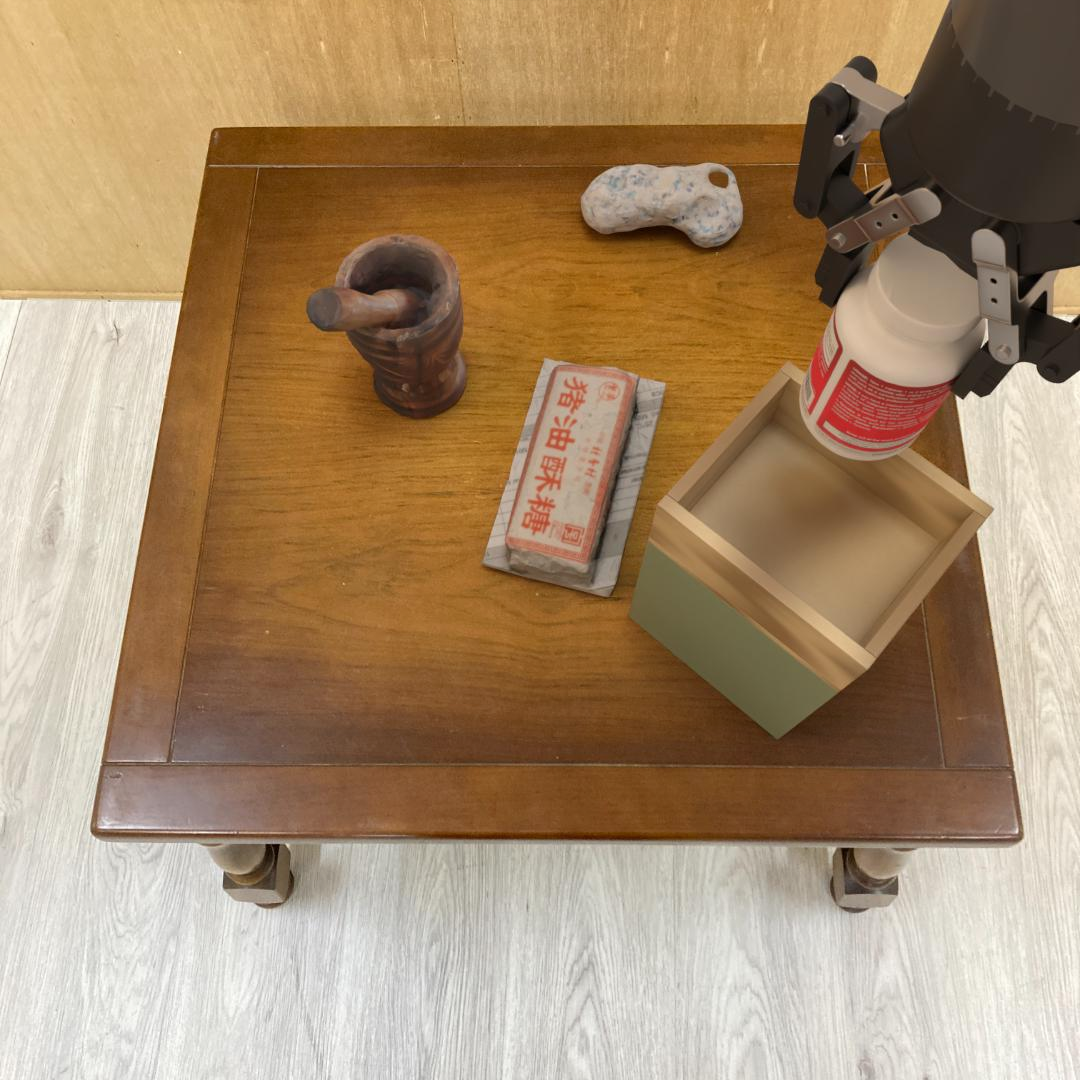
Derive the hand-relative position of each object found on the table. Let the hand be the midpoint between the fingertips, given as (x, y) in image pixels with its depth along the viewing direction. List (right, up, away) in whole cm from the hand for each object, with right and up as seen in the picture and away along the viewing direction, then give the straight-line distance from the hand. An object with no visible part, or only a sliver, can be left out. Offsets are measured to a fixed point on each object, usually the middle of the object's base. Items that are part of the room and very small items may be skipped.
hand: (901, 335), depth 44 cm
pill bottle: (0, -2, +6) cm, 7 cm away
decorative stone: (-6, +18, +42) cm, 46 cm away
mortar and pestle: (-26, +2, +37) cm, 45 cm away
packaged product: (-13, -4, +34) cm, 37 cm away
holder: (0, -9, +15) cm, 18 cm away
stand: (0, -15, +30) cm, 33 cm away
